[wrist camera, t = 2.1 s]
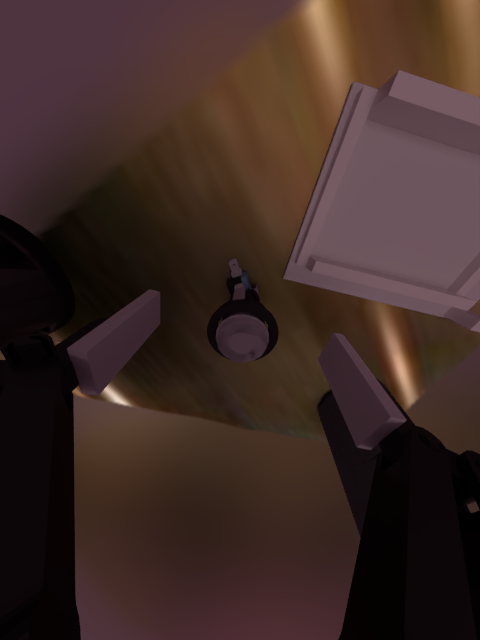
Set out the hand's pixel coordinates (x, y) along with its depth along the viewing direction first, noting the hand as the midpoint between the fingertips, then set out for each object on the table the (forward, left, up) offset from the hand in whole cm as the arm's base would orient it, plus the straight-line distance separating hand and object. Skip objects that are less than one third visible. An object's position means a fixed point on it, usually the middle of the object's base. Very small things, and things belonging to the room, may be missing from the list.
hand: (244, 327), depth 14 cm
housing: (+14, +10, -9) cm, 19 cm away
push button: (0, 0, -9) cm, 9 cm away
